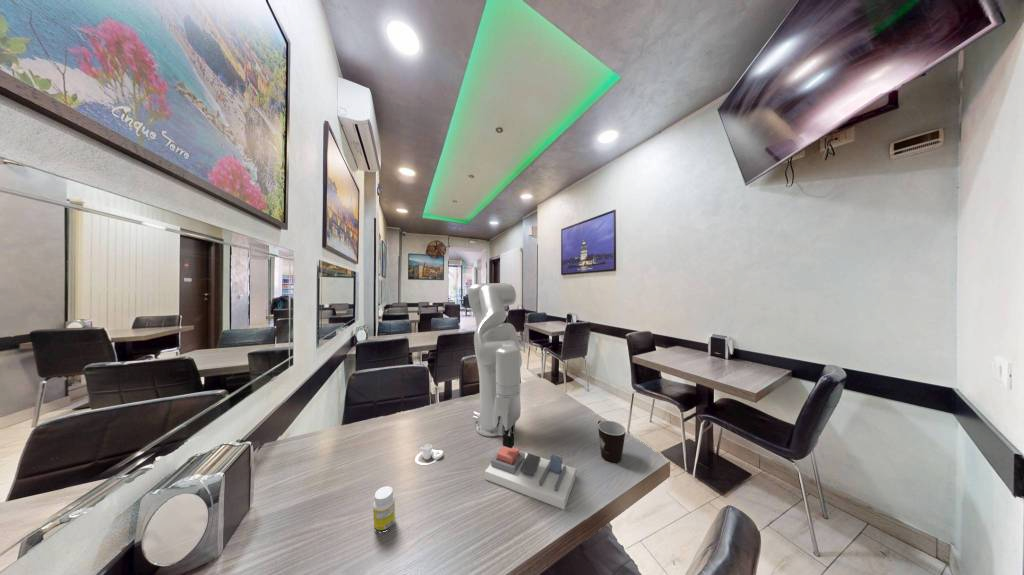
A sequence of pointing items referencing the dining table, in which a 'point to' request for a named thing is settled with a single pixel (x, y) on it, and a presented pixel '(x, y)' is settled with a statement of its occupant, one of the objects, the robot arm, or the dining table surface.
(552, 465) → the paddle
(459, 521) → the dining table surface
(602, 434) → the coffee mug
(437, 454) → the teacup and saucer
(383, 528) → the supplement bottle
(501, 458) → the button
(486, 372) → the robot arm
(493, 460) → the panel
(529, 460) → the block
